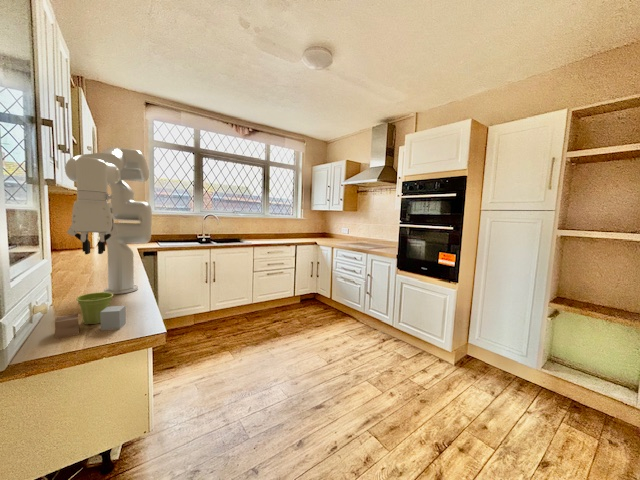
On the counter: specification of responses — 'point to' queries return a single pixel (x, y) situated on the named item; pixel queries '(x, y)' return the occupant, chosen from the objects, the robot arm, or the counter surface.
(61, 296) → the counter surface
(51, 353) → the counter surface
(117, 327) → the slate block
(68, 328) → the walnut block
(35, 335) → the counter surface
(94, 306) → the plant pot
